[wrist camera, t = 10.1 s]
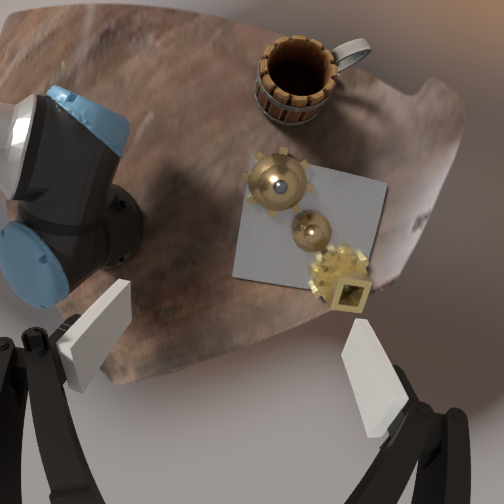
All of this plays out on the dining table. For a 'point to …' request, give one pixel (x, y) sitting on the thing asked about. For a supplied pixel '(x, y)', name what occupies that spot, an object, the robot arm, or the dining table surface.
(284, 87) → the mug
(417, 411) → the robot arm
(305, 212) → the carrier
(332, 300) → the gear
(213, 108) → the dining table surface
